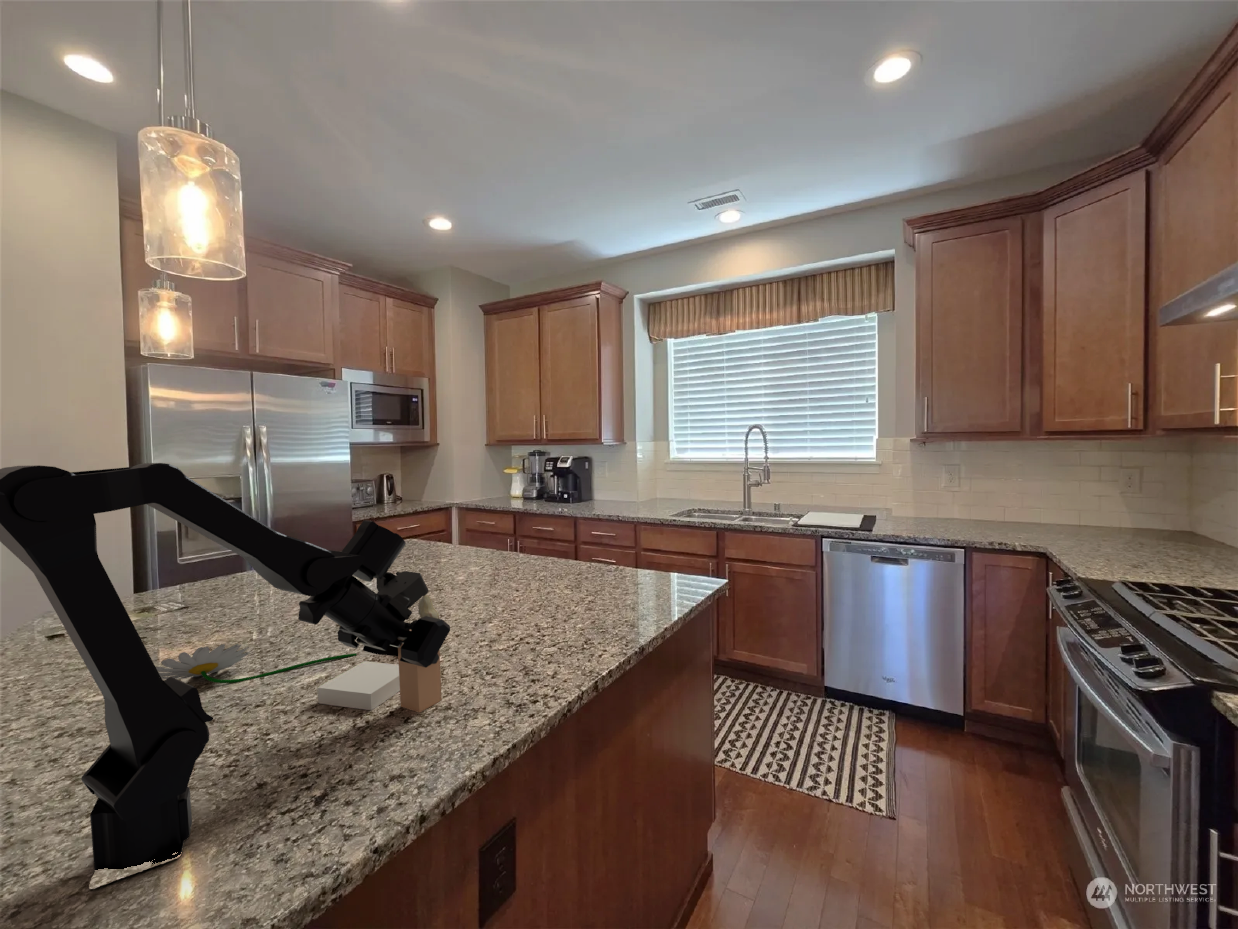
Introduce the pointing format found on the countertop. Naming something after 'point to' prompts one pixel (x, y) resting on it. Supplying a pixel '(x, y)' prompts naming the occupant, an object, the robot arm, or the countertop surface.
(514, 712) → the countertop surface
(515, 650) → the countertop surface
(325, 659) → the flower
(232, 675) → the countertop surface
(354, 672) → the plinth
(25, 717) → the countertop surface
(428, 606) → the chocolate bunny
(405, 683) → the block
